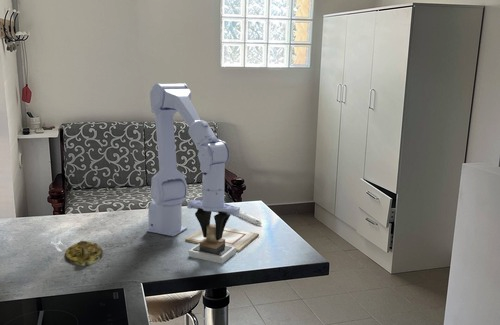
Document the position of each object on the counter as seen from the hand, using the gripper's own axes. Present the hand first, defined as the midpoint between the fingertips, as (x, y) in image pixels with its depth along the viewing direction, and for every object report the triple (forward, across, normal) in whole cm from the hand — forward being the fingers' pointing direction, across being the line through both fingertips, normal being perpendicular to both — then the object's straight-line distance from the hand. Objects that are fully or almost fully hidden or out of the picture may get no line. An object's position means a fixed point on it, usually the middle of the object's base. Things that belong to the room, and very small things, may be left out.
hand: (212, 237), depth 130 cm
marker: (+5, -5, +32) cm, 32 cm away
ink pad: (+5, 0, 0) cm, 5 cm away
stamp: (+3, 0, 0) cm, 3 cm away
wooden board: (+5, -3, +12) cm, 13 cm away
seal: (+5, -30, -16) cm, 34 cm away
